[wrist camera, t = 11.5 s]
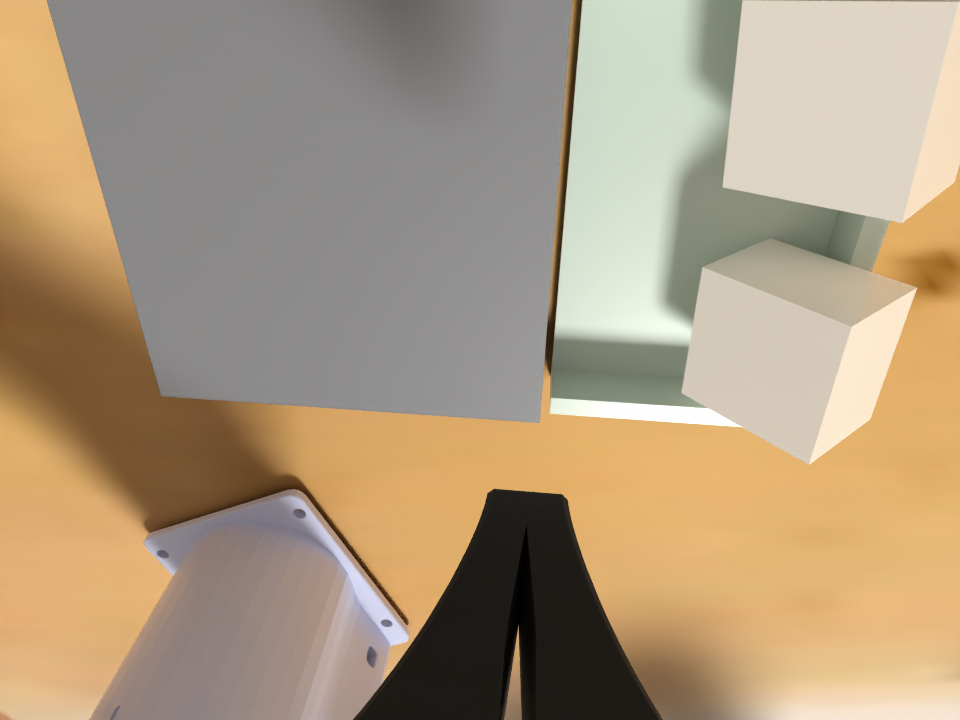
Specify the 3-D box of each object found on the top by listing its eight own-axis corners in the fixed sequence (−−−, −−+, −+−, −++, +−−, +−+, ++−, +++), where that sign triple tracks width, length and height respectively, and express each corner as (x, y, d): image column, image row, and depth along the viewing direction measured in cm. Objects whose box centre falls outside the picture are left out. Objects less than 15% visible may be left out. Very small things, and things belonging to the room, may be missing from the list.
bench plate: (195, 354, 24) (161, 396, 22) (86, -92, 17) (19, -93, 15) (541, 377, 23) (540, 422, 21) (575, -84, 16) (578, -84, 14)
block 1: (902, 222, 14) (954, 181, 16) (958, 1, 12) (1012, -19, 14) (722, 187, 17) (783, 155, 18) (742, 0, 14) (809, -17, 16)
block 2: (809, 465, 17) (869, 418, 19) (851, 326, 15) (917, 287, 17) (681, 393, 20) (743, 358, 22) (702, 267, 18) (770, 237, 19)
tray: (550, 377, 23) (549, 413, 22) (588, -84, 16) (591, -84, 14) (796, 393, 23) (815, 432, 21) (947, -78, 16) (994, -77, 14)
